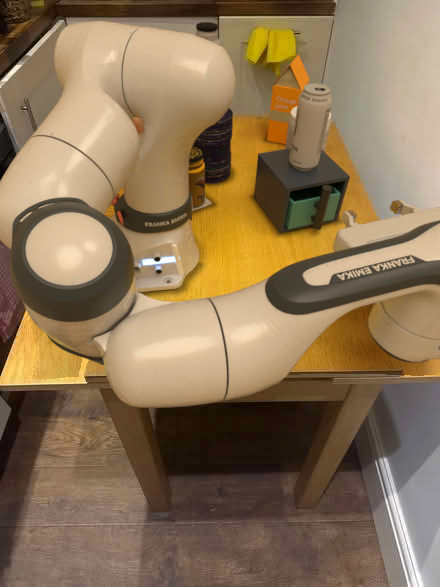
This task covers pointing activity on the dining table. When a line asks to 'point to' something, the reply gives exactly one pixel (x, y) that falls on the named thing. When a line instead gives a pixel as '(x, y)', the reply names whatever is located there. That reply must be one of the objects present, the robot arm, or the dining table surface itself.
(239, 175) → the dining table surface
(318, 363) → the dining table surface
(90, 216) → the robot arm
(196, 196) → the condiment
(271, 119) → the orange juice
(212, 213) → the dining table surface
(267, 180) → the small drawer cabinet
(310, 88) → the energy drink can
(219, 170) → the storage jar
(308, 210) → the cabinet drawer
